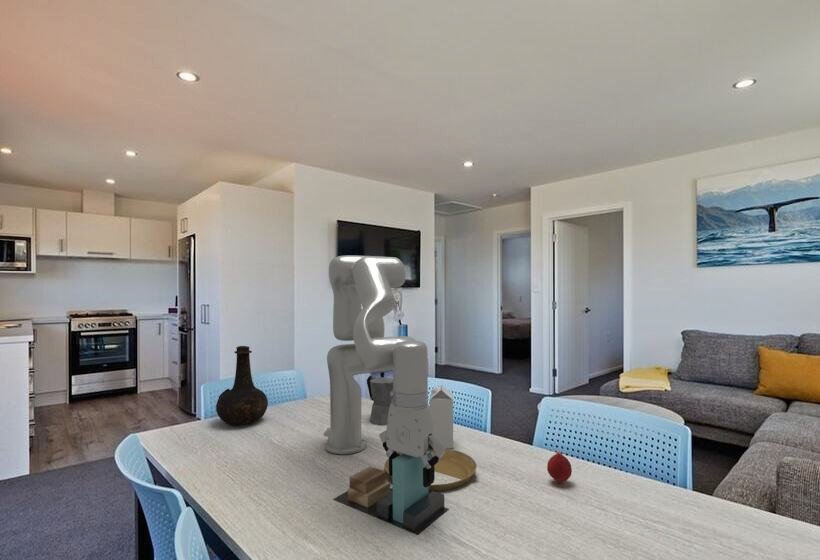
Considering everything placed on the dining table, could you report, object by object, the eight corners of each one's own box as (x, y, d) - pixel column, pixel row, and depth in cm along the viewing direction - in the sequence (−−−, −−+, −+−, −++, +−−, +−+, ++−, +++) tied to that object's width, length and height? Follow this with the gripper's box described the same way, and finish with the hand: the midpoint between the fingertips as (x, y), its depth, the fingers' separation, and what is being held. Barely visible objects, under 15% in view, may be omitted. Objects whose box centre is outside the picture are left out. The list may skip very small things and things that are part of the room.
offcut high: (349, 487, 99) (349, 476, 99) (369, 476, 104) (369, 466, 104) (365, 493, 96) (365, 482, 96) (385, 482, 101) (385, 471, 101)
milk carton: (453, 440, 138) (452, 381, 138) (453, 449, 131) (452, 386, 131) (431, 440, 138) (430, 381, 139) (429, 448, 131) (429, 386, 132)
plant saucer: (373, 465, 120) (373, 453, 120) (451, 452, 129) (451, 441, 129) (402, 506, 98) (402, 492, 98) (494, 488, 106) (494, 474, 106)
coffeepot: (404, 422, 156) (403, 372, 157) (384, 428, 150) (384, 376, 150) (377, 413, 167) (376, 367, 168) (357, 418, 161) (357, 370, 161)
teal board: (392, 519, 90) (392, 459, 90) (417, 501, 97) (417, 446, 97) (404, 524, 88) (403, 462, 88) (428, 505, 95) (428, 449, 96)
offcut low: (348, 499, 98) (348, 488, 98) (371, 486, 105) (371, 475, 105) (367, 507, 95) (367, 496, 95) (390, 493, 101) (390, 482, 101)
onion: (571, 479, 110) (571, 448, 110) (572, 490, 104) (571, 456, 104) (547, 476, 112) (547, 445, 112) (547, 486, 106) (546, 454, 106)
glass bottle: (233, 414, 167) (232, 342, 168) (276, 416, 165) (276, 343, 165) (205, 429, 150) (205, 349, 150) (253, 431, 147) (253, 350, 148)
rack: (332, 503, 99) (332, 486, 99) (367, 483, 108) (367, 467, 108) (417, 540, 84) (417, 519, 84) (449, 513, 94) (449, 495, 94)
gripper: (368, 396, 95) (369, 475, 95) (434, 409, 85) (435, 497, 85) (390, 389, 101) (390, 463, 101) (454, 401, 91) (454, 483, 91)
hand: (411, 478), depth 93 cm, fingers open, 8 cm apart
